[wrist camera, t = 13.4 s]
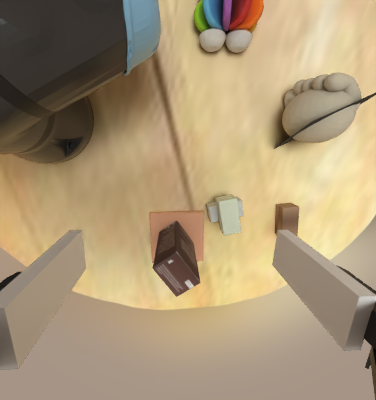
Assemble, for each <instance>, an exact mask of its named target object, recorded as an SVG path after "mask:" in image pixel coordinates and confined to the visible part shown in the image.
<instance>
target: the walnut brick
mask: <svg viewBox="0 0 376 400" xmlns="http://www.w3.org/2000/svg"><path fill="white" fill-rule="evenodd" d="M298 218H299V206H296V205H294V204H292V203H284V204H276V217H275V233H276V234H277V231H278V230H289V231H290V232H292V233H293V234H294V235H296V236H297V233H298Z"/></svg>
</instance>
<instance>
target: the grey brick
mask: <svg viewBox="0 0 376 400" xmlns="http://www.w3.org/2000/svg"><path fill="white" fill-rule="evenodd" d="M236 198H237V203H238V211H239V217H241V216H244V214H243V207H242V200H241V199H239V198H238V197H236ZM206 205H207V210H208V216H209V219H210V221H211V223H213V222H217V221H219V218H218V212H217V206H216V201H214V202H209V203H206Z"/></svg>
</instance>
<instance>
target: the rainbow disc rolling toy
mask: <svg viewBox="0 0 376 400" xmlns="http://www.w3.org/2000/svg"><path fill="white" fill-rule="evenodd" d="M199 1H200V2H199V3H198V4H197V6H196V8H195V11H194V22H195V25H196V27H197V28H198V30H199V31H200V32H201V34H200V36H199V41H200V44H201V46H202V47H203V48H204V49H205V50H206V51H208V52H214V51H217V50H219V49H220V48H221V47H222V46H223V44H224V42H225V43H226V46H227V47H228V49H229V50H230V51H232V52H235V53H238V52H242V51H244V50H245V49H246V48H247V47H248V46H249V44H250V42H251V40H252V34H251V32H252V31H253V30H254V29H255V27H256V25H257V21H258V20H259V18H260V17H261V15H262V12H263V8H264V5H263V0H199ZM227 30H228V34H227V35H226V34H225V32H224V31H227Z"/></svg>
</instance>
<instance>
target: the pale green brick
mask: <svg viewBox="0 0 376 400" xmlns="http://www.w3.org/2000/svg"><path fill="white" fill-rule="evenodd" d="M215 200H216V206H217V212H218V218H219V225H220V230H221V231H222V233H223V235H229V234H234V233H239V232H241V226H240V218H239V211H238V203H237V198H236V197H235V196H233V195H232V194H231V195H226V196H221V197H216V198H215Z"/></svg>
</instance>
